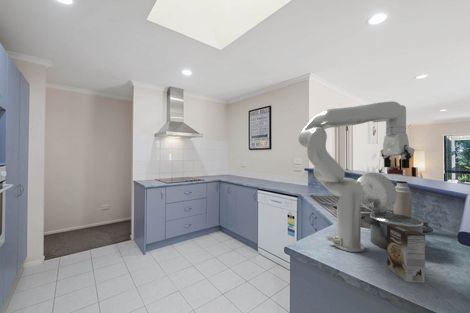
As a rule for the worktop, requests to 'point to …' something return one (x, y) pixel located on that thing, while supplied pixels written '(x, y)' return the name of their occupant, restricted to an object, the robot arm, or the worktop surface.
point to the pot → (384, 219)
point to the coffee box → (406, 253)
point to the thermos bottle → (403, 199)
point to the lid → (377, 192)
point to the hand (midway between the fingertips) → (396, 167)
